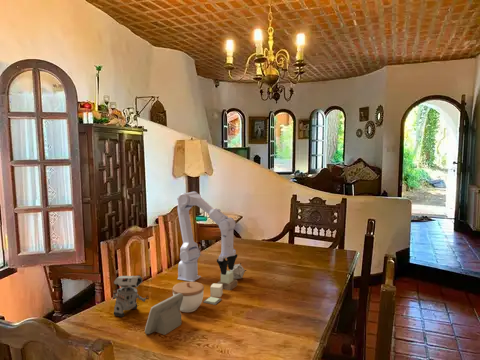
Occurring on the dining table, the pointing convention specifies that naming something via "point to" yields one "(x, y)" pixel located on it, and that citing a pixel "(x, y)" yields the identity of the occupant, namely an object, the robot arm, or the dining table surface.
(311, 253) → the dining table surface
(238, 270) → the game die
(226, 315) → the dining table surface
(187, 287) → the lidded bowl
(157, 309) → the digital clock
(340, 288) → the dining table surface
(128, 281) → the figurine
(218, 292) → the cream cube
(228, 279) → the sage cube
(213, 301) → the tile
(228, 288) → the walnut base
